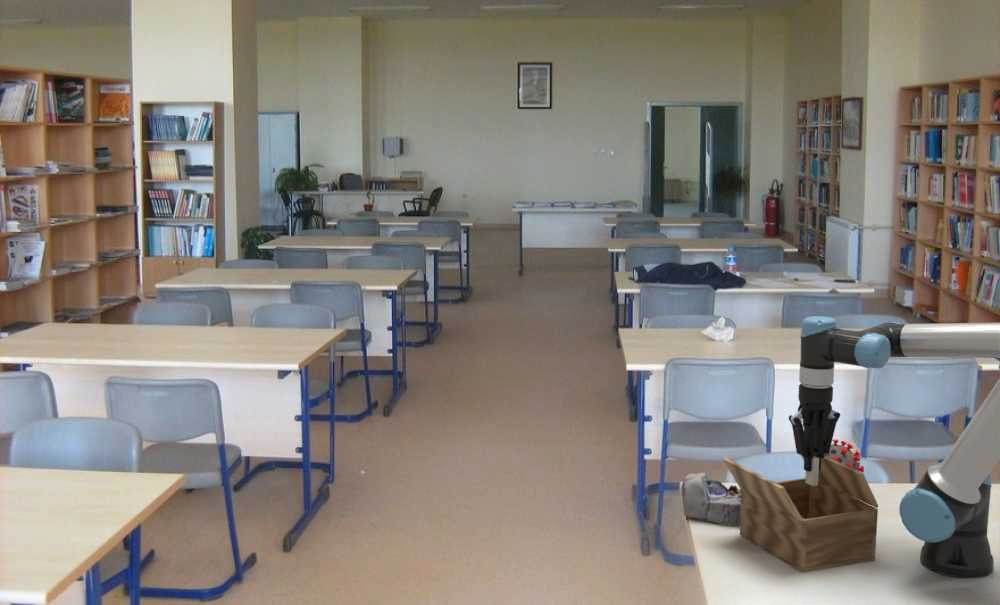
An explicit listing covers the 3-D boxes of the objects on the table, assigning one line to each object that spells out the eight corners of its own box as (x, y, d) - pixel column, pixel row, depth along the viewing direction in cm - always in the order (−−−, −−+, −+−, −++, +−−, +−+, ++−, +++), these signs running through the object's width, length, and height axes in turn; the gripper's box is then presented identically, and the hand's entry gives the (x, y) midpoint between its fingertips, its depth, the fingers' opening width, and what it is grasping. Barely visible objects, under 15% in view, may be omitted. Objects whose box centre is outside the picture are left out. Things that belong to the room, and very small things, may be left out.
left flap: (783, 487, 236) (781, 488, 236) (803, 519, 240) (801, 521, 240) (724, 456, 258) (722, 458, 258) (742, 487, 261) (740, 488, 261)
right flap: (876, 508, 247) (878, 506, 247) (861, 474, 244) (863, 472, 244) (811, 477, 268) (813, 476, 268) (796, 446, 265) (798, 444, 265)
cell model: (683, 465, 282) (763, 472, 278) (681, 506, 283) (760, 513, 279) (681, 481, 269) (764, 489, 265) (678, 523, 271) (761, 531, 267)
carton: (874, 559, 249) (877, 509, 247) (801, 572, 241) (804, 520, 239) (808, 524, 271) (810, 477, 269) (739, 535, 263) (741, 487, 261)
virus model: (873, 500, 288) (876, 445, 285) (822, 505, 284) (825, 449, 281) (842, 483, 301) (845, 430, 299) (793, 487, 298) (796, 434, 295)
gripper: (828, 378, 256) (824, 475, 260) (782, 383, 251) (778, 482, 255) (850, 385, 249) (845, 485, 253) (802, 390, 244) (798, 492, 248)
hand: (811, 483), depth 254 cm, fingers closed
